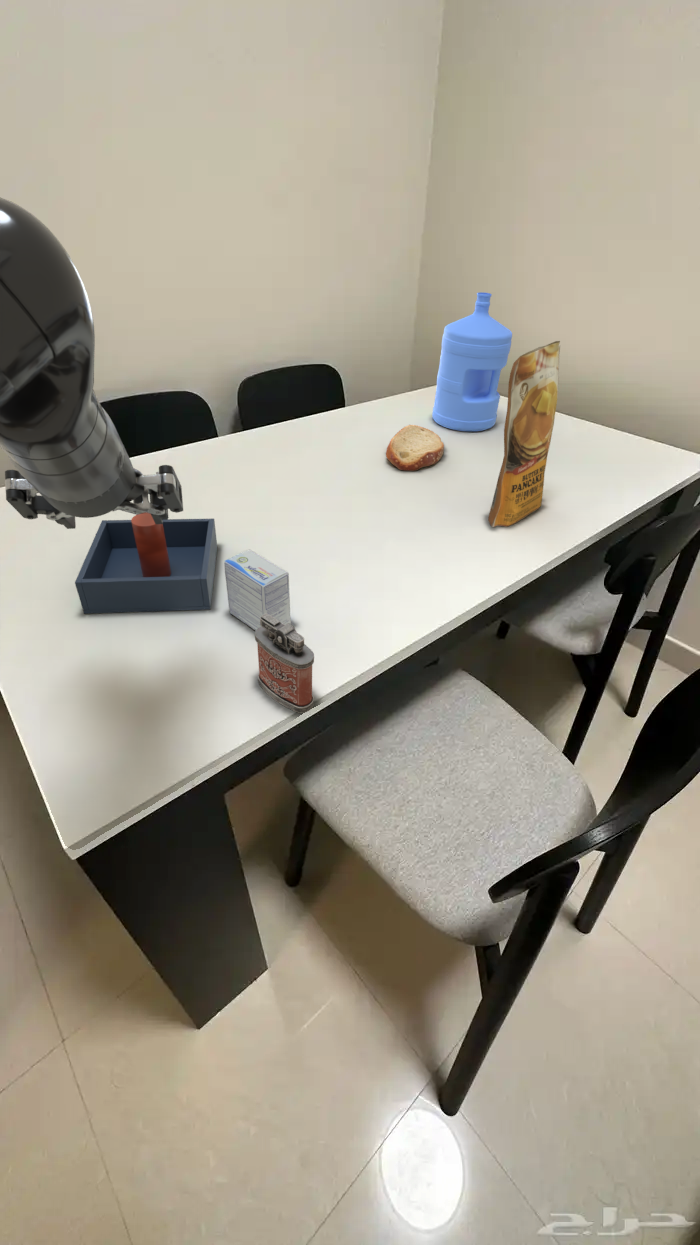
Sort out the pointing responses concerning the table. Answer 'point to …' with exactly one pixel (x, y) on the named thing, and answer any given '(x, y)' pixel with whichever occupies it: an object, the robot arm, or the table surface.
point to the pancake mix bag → (526, 435)
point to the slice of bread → (414, 448)
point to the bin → (118, 576)
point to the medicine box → (256, 589)
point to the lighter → (284, 664)
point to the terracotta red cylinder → (151, 546)
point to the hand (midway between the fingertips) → (115, 517)
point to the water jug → (471, 370)
